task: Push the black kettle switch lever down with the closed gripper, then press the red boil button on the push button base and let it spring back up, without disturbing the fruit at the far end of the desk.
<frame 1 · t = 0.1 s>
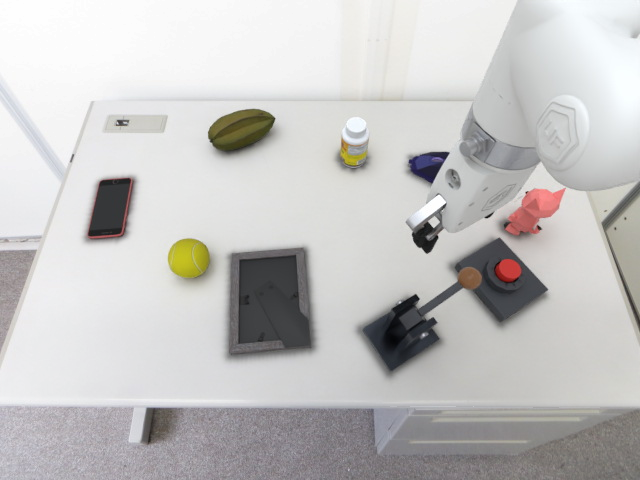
hand: (451, 226, 48), 22 cm above the table, tool pointing down, fingers open, 9 cm apart
supplement bottle: (353, 159, 82), on the table
smartphone: (112, 208, 76), on the table
computer mouse: (442, 173, 79), on the table
picture frame: (270, 299, 67), on the table
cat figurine: (517, 228, 73), on the table
tennis ball: (195, 266, 70), on the table
fruit: (244, 141, 84), on the table
switch bracket: (399, 335, 64), on the table
switch lever: (440, 298, 54), point 12 cm above the table, hinge at 25.0°
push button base: (497, 280, 68), on the table
boil button: (507, 270, 64), point 4 cm above the table, slide at 0.1 cm
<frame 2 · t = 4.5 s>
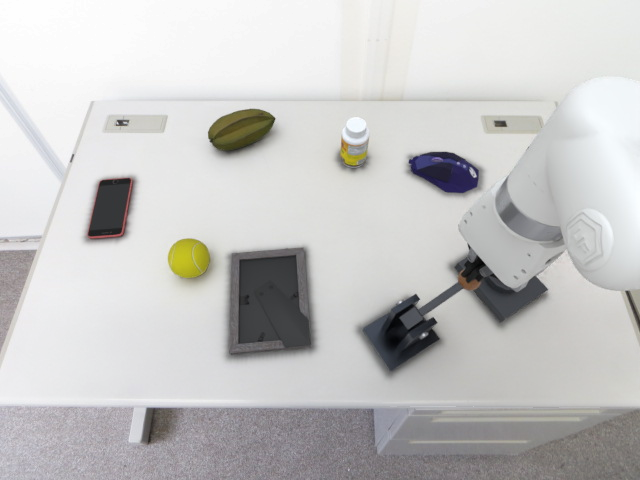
hand: (472, 274, 53), 15 cm above the table, tool pointing down, fingers closed
switch lever: (441, 298, 54), point 12 cm above the table, hinge at 19.2°, touching gripper
everything else where it was.
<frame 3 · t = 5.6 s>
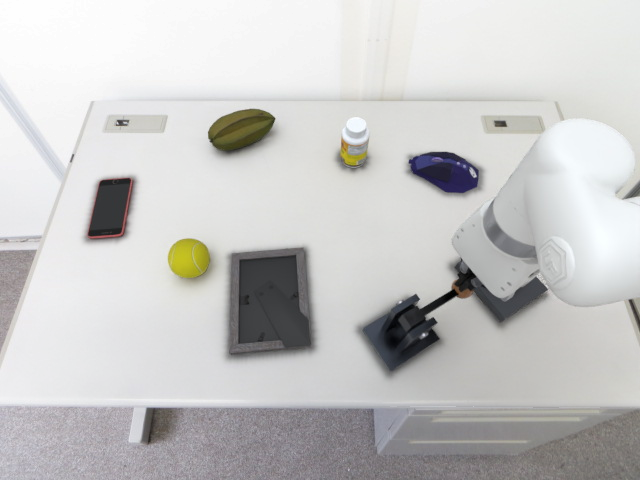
hand: (465, 283, 57), 11 cm above the table, tool pointing down, fingers closed
switch lever: (438, 302, 56), point 9 cm above the table, hinge at -6.1°, touching gripper
everything else where it was.
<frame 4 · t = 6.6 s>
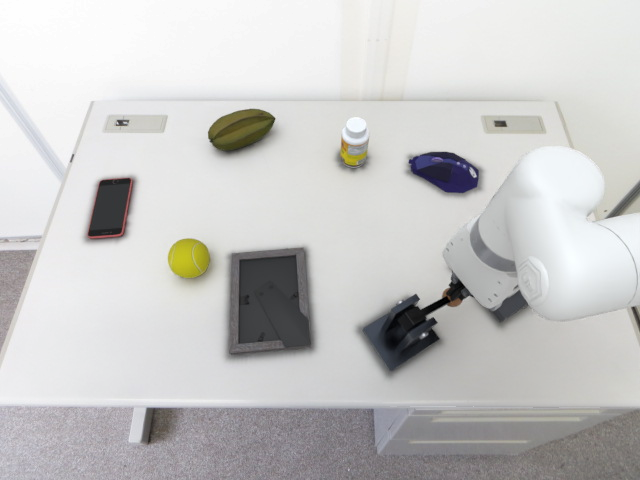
hand: (456, 293, 59), 8 cm above the table, tool pointing down, fingers closed
switch lever: (433, 307, 58), point 8 cm above the table, hinge at -23.6°, touching gripper
everything else where it was.
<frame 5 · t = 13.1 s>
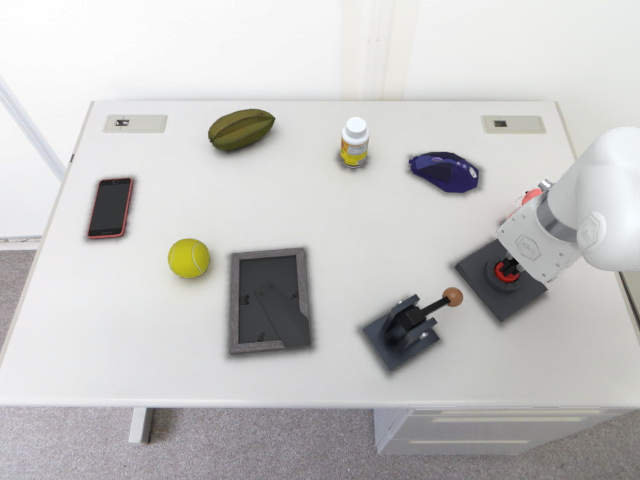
hand: (508, 269, 64), 5 cm above the table, tool pointing down, fingers closed
switch lever: (433, 307, 58), point 8 cm above the table, hinge at -23.7°
boil button: (506, 272, 65), point 4 cm above the table, slide at -0.6 cm, touching gripper
everything else where it was.
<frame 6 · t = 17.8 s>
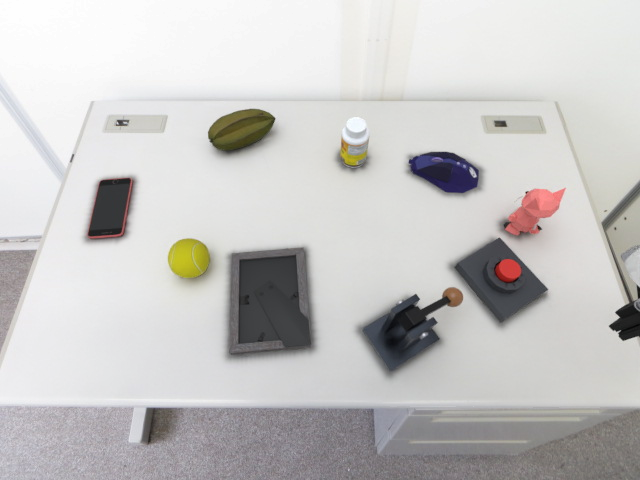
hand: (625, 325, 35), 29 cm above the table, tool pointing down, fingers closed
boil button: (507, 270, 64), point 4 cm above the table, slide at 0.1 cm
everything else where it was.
at the end: switch lever at -24° (first picture: +25°); boil button pushed in 1.1 cm at the most during the clip, back to where it started at the end; boil button slide at 0.1 cm; fruit moved 0.2 cm from its start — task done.
